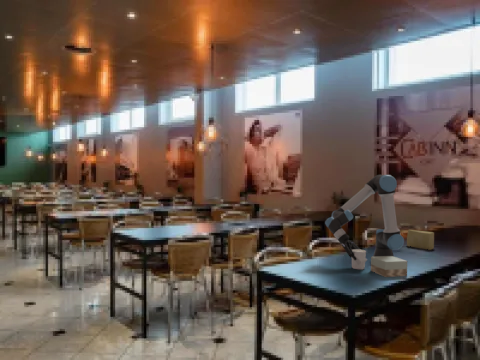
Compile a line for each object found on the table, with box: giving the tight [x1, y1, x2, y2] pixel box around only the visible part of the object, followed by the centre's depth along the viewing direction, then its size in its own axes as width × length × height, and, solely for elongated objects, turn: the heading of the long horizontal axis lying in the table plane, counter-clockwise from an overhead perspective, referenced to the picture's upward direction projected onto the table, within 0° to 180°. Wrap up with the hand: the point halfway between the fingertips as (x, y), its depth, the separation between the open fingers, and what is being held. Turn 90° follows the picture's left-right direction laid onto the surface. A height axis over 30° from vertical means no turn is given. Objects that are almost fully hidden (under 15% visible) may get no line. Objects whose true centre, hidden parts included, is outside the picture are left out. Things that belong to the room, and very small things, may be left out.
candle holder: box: [351, 248, 367, 270], centre depth 283 cm, size 10×10×12 cm
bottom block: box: [370, 263, 408, 278], centre depth 270 cm, size 16×16×5 cm
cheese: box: [406, 229, 435, 251], centre depth 368 cm, size 22×10×15 cm, turn 43°
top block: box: [370, 256, 408, 270], centre depth 269 cm, size 16×16×5 cm
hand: (362, 262), depth 281 cm, fingers closed on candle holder, 9 cm apart
